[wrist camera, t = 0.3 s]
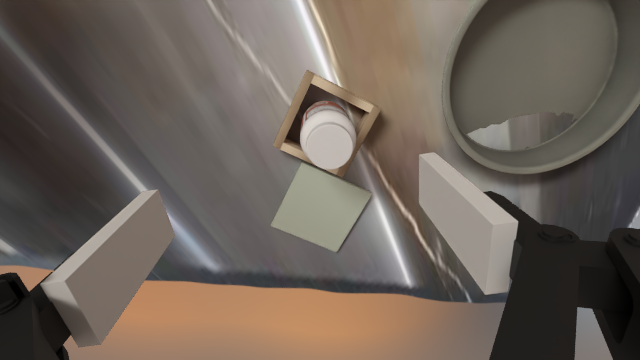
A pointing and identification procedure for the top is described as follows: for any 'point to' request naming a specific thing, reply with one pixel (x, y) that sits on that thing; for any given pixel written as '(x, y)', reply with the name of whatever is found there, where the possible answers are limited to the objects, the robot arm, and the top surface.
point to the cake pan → (543, 75)
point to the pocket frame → (336, 90)
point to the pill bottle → (327, 135)
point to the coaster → (320, 207)
